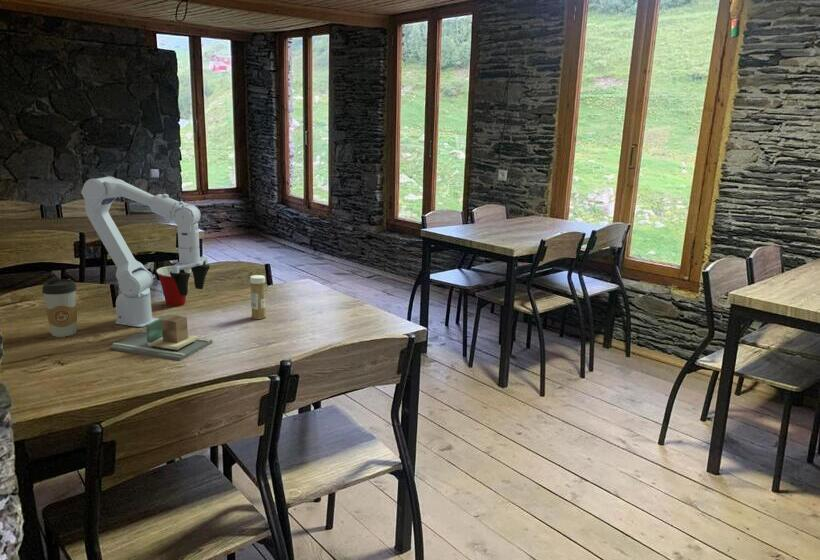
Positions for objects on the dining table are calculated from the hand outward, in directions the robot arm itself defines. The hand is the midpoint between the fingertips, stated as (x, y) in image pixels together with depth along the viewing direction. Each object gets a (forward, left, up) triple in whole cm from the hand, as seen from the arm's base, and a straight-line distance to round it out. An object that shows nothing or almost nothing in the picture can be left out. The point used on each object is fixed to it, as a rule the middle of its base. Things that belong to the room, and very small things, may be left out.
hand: (191, 291), depth 180 cm
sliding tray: (+7, -18, -10) cm, 22 cm away
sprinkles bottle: (+14, +14, -11) cm, 22 cm away
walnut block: (+7, -18, -8) cm, 21 cm away
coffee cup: (-28, -20, -11) cm, 36 cm away
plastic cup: (-18, +16, -11) cm, 26 cm away
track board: (+3, -18, -10) cm, 21 cm away
